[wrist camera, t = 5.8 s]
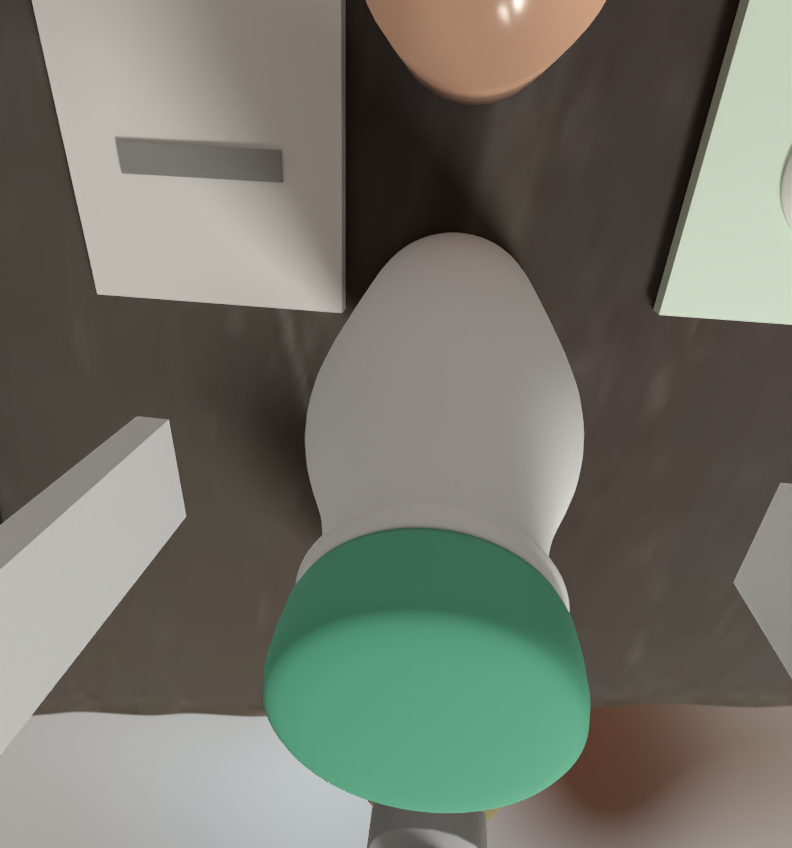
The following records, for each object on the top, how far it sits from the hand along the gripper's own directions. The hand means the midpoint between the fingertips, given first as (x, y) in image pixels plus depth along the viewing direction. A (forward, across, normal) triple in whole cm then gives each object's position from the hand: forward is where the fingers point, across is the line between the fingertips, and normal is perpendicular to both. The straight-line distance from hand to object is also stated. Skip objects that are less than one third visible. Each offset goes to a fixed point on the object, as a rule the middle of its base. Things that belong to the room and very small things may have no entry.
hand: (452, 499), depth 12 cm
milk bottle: (+15, -1, 0) cm, 15 cm away
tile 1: (+14, -12, +6) cm, 19 cm away
